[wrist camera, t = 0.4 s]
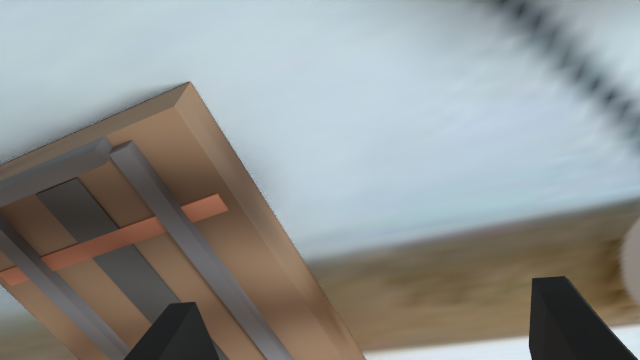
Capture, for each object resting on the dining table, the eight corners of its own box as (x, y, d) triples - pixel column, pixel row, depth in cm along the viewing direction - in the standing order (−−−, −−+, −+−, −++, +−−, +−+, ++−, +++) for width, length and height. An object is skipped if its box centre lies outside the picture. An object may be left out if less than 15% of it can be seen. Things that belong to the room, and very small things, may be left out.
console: (389, 397, 29) (391, 451, 27) (203, 435, 33) (190, 486, 30) (190, 81, 20) (164, 120, 17) (-43, 184, 23) (-93, 228, 21)
